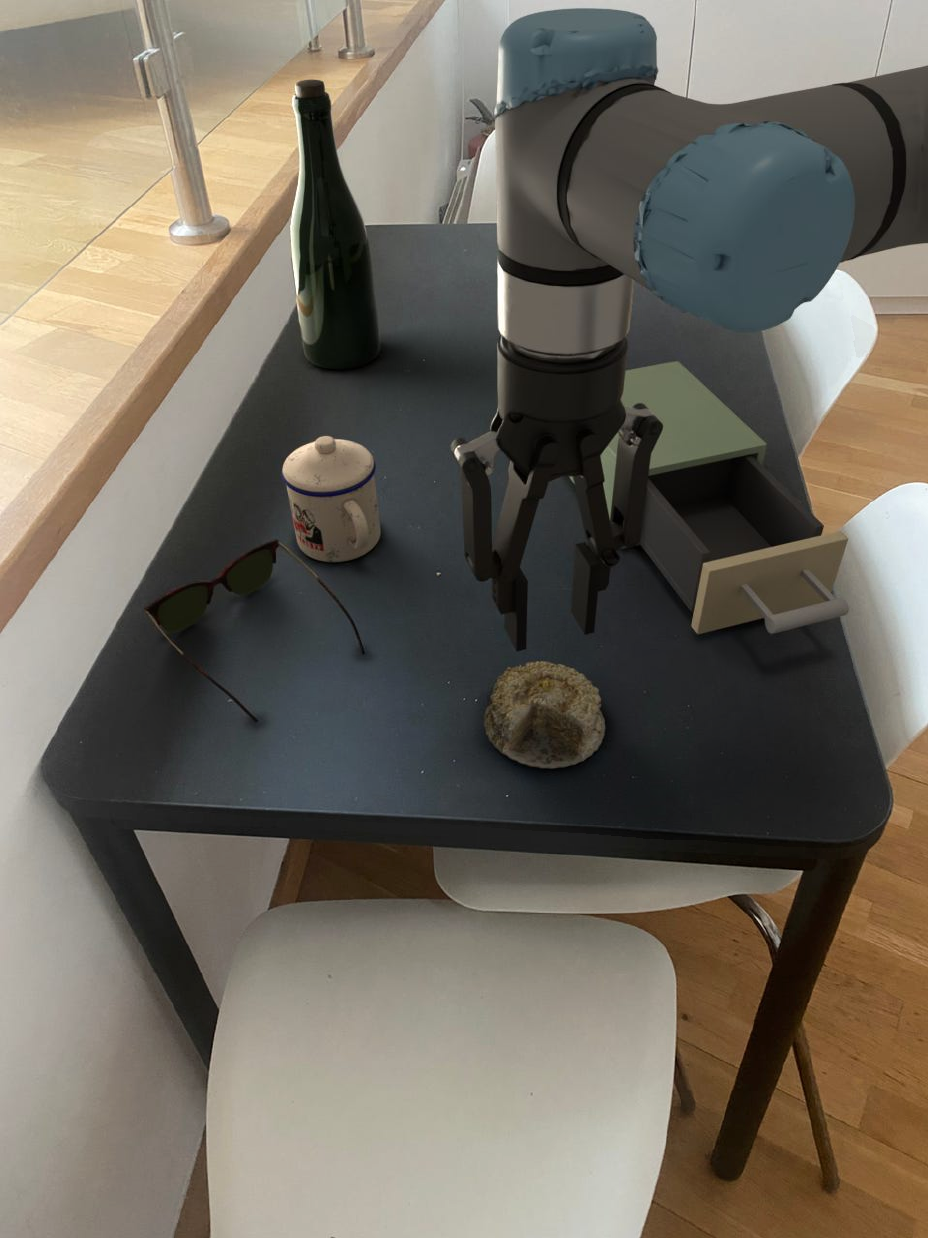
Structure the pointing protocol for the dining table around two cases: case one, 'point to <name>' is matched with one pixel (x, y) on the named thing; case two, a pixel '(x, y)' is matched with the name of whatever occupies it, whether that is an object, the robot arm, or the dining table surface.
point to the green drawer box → (681, 423)
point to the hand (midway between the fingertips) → (549, 629)
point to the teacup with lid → (333, 499)
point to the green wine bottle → (329, 245)
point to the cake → (544, 715)
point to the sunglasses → (238, 578)
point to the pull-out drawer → (741, 547)
